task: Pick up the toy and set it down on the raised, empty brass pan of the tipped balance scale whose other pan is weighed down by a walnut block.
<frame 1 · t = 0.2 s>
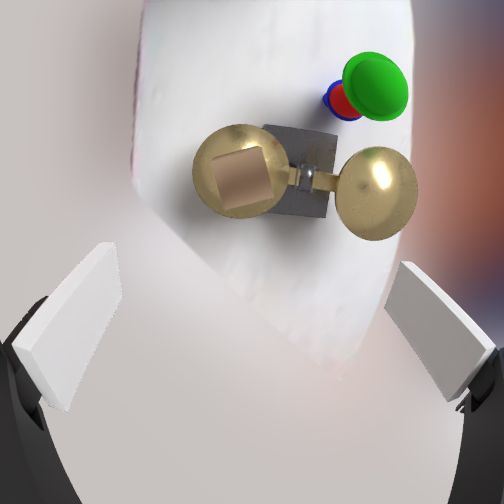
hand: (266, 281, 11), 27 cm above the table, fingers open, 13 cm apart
toy: (337, 96, 32), on the table
walnut block: (241, 172, 30), point 7 cm above the table, touching balance
balance: (295, 171, 36), on the table
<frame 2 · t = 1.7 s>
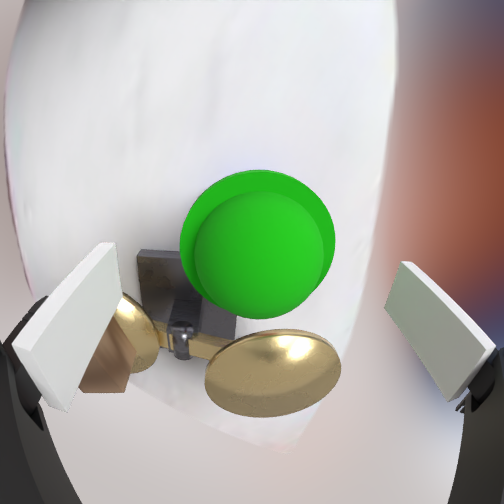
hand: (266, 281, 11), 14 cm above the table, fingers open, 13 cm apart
toy: (246, 194, 24), on the table
walnut block: (103, 335, 22), point 7 cm above the table, touching balance
balance: (190, 302, 29), on the table
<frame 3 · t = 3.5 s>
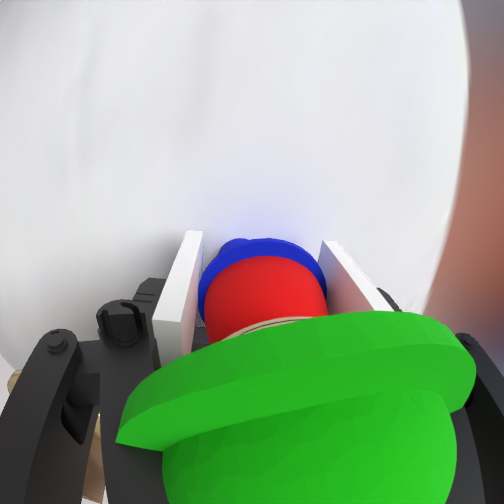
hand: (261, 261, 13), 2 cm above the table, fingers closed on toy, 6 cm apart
toy: (259, 244, 15), on the table, touching gripper
walnut block: (68, 428, 12), point 7 cm above the table, touching balance
balance: (179, 380, 19), on the table
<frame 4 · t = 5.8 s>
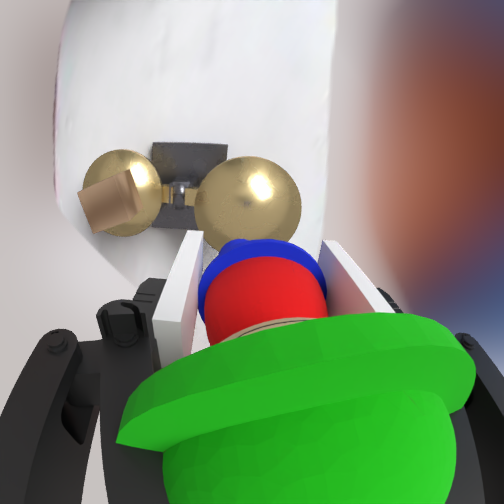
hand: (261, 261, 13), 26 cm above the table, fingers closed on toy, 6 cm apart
toy: (259, 245, 15), point 24 cm above the table, touching gripper
walnut block: (119, 194, 29), point 7 cm above the table, touching balance
balance: (188, 184, 36), on the table
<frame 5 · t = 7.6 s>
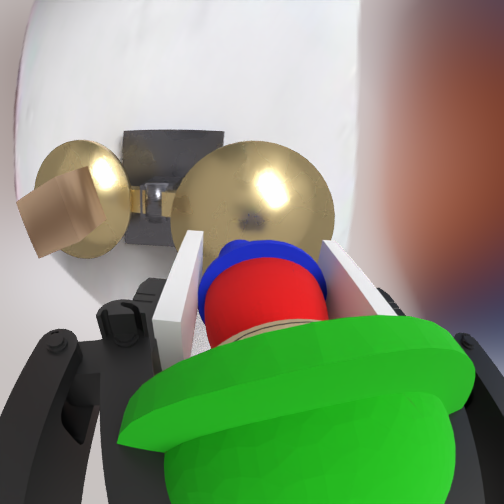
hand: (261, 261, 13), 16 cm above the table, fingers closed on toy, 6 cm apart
toy: (259, 245, 15), point 14 cm above the table, touching gripper
walnut block: (76, 202, 20), point 7 cm above the table, touching balance
balance: (171, 187, 27), on the table
when the fingers open (14 cm above the table, at t = 8.4 s): toy drops 1 cm, resting on balance.
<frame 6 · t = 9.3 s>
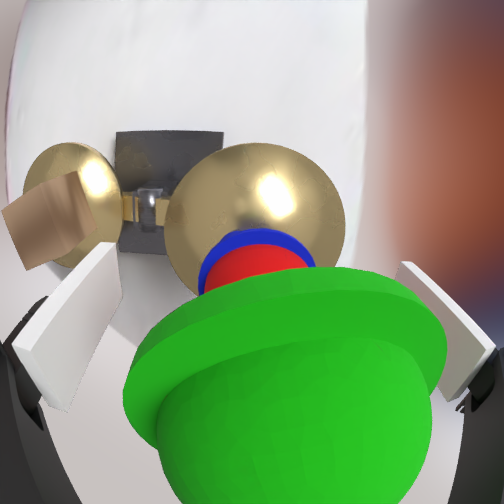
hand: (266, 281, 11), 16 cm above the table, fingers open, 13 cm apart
toy: (256, 237, 16), point 11 cm above the table, touching balance
walnut block: (65, 209, 18), point 7 cm above the table, touching balance
balance: (167, 192, 25), on the table
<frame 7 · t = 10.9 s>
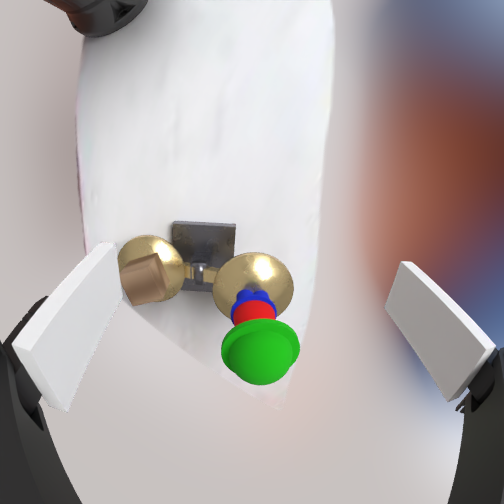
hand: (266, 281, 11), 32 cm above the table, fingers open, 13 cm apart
toy: (253, 291, 37), point 11 cm above the table, touching balance
walnut block: (149, 271, 39), point 7 cm above the table, touching balance
balance: (203, 256, 46), on the table
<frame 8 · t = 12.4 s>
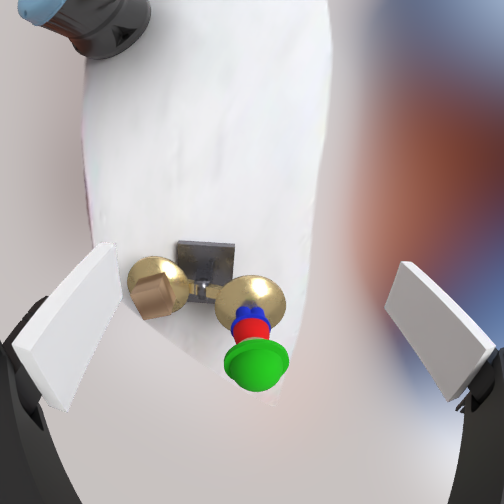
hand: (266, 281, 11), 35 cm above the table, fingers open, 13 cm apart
toy: (250, 307, 41), point 11 cm above the table, touching balance
walnut block: (157, 287, 43), point 7 cm above the table, touching balance
balance: (205, 271, 50), on the table
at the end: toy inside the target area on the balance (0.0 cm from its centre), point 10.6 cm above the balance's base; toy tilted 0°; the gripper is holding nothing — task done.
